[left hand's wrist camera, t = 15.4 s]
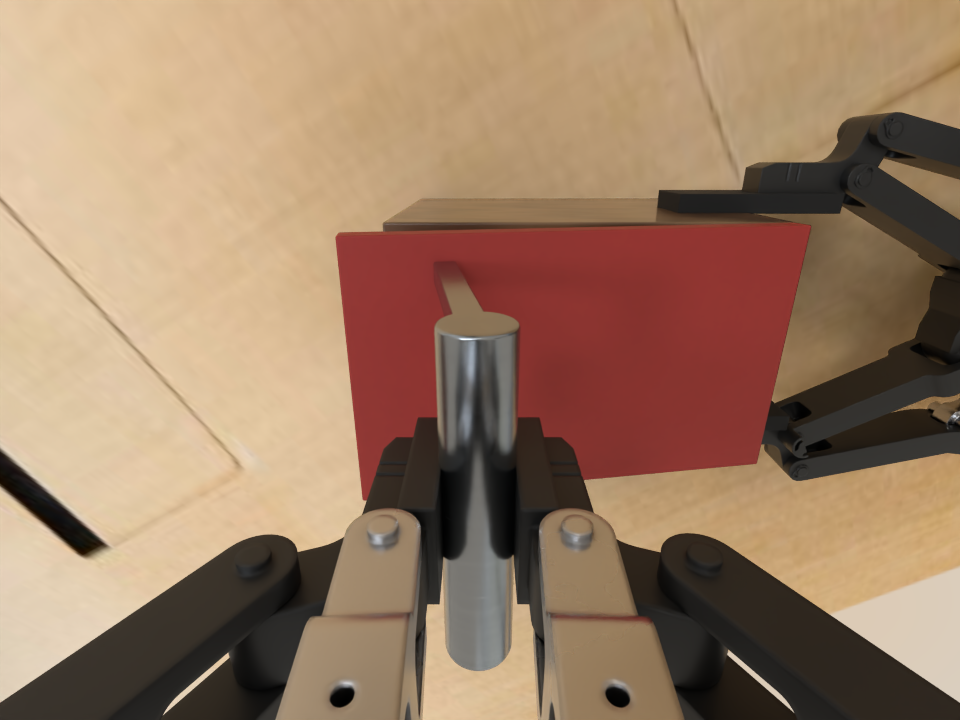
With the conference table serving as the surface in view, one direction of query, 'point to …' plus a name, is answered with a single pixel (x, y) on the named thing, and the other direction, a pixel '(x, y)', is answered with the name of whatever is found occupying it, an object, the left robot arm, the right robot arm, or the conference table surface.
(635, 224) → the chest
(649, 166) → the conference table surface
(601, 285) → the lid
